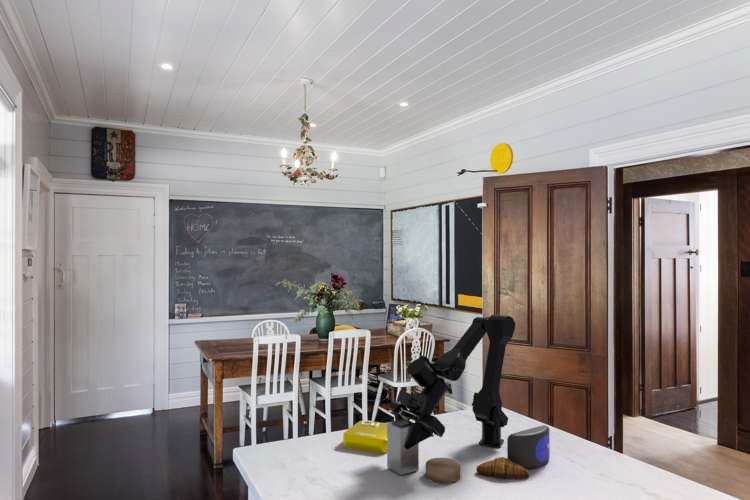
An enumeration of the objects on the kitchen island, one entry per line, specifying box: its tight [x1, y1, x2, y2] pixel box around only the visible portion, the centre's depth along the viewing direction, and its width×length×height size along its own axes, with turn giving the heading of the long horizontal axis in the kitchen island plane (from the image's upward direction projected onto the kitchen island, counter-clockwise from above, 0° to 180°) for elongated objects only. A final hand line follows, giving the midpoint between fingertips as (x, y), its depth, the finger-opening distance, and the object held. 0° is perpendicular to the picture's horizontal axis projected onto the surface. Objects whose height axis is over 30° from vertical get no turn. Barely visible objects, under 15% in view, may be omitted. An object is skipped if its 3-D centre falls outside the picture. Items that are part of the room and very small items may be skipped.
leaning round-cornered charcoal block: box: [506, 425, 551, 470], centre depth 139 cm, size 16×5×9 cm, turn 123°
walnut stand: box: [425, 457, 462, 485], centre depth 132 cm, size 9×9×3 cm
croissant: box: [475, 456, 530, 479], centre depth 133 cm, size 14×7×5 cm, turn 79°
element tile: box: [342, 419, 388, 454], centre depth 156 cm, size 15×15×5 cm
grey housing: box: [386, 419, 420, 476], centre depth 136 cm, size 6×6×12 cm
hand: (398, 444), depth 135 cm, fingers closed on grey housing, 6 cm apart
